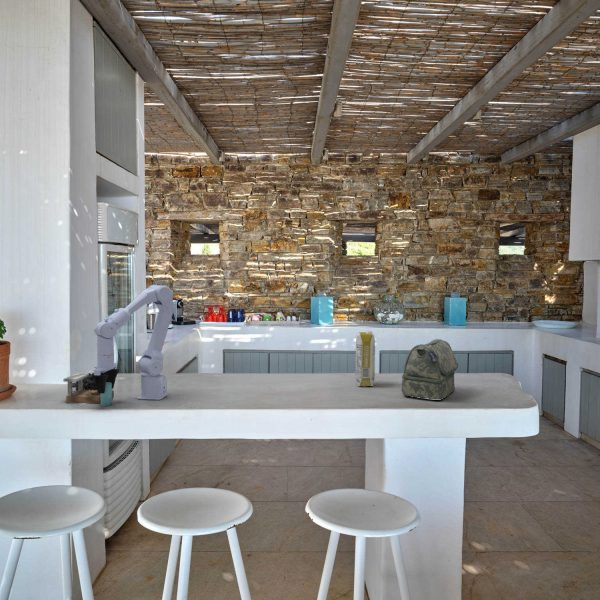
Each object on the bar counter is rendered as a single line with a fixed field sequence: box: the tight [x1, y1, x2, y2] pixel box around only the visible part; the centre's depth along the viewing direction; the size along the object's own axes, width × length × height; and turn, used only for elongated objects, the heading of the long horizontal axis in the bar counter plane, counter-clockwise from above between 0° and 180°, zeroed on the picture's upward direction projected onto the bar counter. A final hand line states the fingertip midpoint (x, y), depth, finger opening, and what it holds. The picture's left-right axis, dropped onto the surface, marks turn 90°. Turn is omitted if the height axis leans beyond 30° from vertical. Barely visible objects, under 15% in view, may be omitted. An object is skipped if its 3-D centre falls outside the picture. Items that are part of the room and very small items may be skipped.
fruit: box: [72, 372, 105, 392], centre depth 227 cm, size 9×8×15 cm
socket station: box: [63, 373, 115, 405], centre depth 212 cm, size 16×10×9 cm, turn 85°
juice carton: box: [354, 330, 376, 387], centre depth 241 cm, size 9×8×24 cm
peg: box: [100, 382, 113, 407], centre depth 205 cm, size 4×4×8 cm
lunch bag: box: [401, 338, 459, 399], centre depth 226 cm, size 26×18×22 cm
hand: (105, 390), depth 205 cm, fingers open, 7 cm apart
